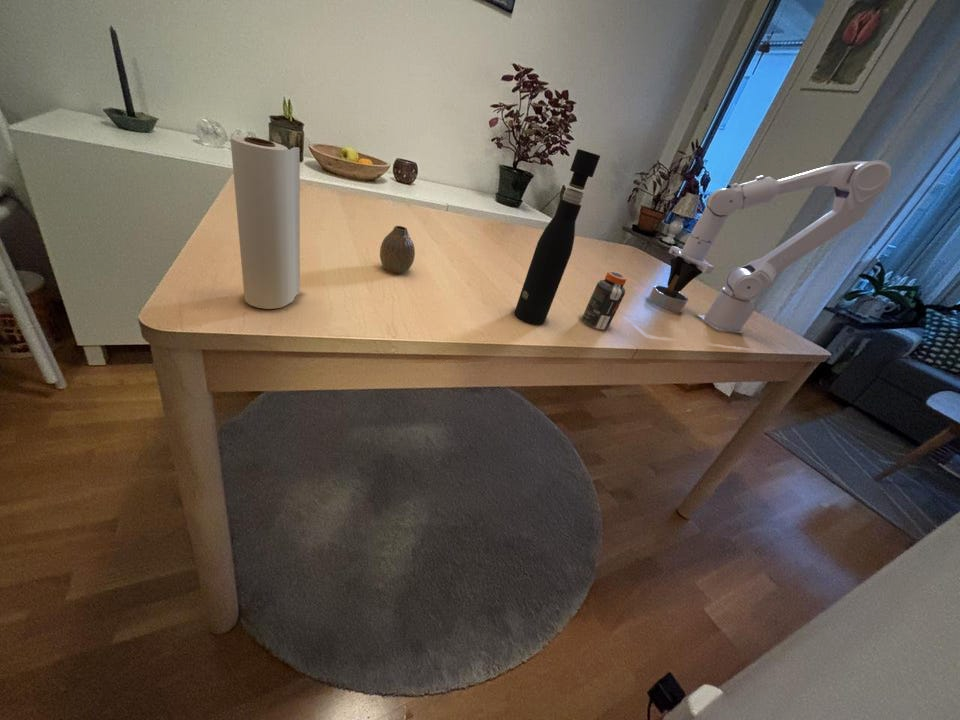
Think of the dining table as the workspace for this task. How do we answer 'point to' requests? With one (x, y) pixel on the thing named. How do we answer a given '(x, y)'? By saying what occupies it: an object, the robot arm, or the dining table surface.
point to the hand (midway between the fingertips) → (673, 288)
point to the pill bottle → (605, 301)
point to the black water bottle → (555, 246)
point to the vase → (397, 251)
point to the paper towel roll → (268, 219)
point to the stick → (672, 287)
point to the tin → (667, 300)
